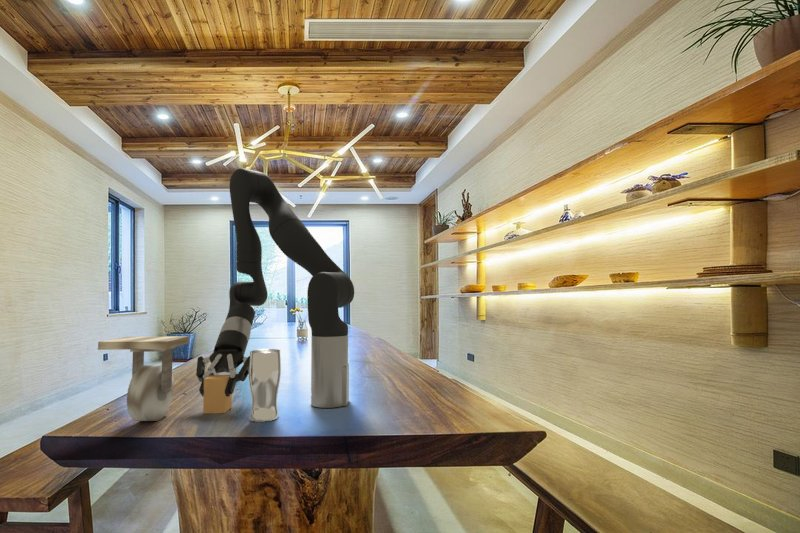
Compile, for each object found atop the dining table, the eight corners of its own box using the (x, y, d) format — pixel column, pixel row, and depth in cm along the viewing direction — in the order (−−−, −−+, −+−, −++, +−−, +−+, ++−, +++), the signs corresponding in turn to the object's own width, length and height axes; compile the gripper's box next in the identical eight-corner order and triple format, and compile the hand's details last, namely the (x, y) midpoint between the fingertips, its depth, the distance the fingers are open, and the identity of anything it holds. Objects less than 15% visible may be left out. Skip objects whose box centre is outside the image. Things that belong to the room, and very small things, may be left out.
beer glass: (286, 418, 98) (287, 350, 99) (258, 425, 93) (258, 354, 94) (270, 412, 103) (270, 348, 104) (242, 418, 98) (243, 351, 99)
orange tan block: (231, 407, 107) (232, 374, 107) (224, 413, 102) (225, 378, 103) (210, 408, 107) (211, 375, 107) (203, 413, 102) (203, 378, 103)
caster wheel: (194, 411, 103) (196, 334, 104) (164, 430, 89) (167, 341, 90) (134, 412, 103) (136, 334, 104) (95, 431, 89) (98, 341, 90)
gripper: (202, 328, 113) (179, 386, 100) (258, 328, 113) (242, 385, 101) (210, 347, 118) (189, 403, 105) (263, 346, 118) (249, 403, 106)
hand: (215, 394), depth 103 cm, fingers closed on orange tan block, 5 cm apart
